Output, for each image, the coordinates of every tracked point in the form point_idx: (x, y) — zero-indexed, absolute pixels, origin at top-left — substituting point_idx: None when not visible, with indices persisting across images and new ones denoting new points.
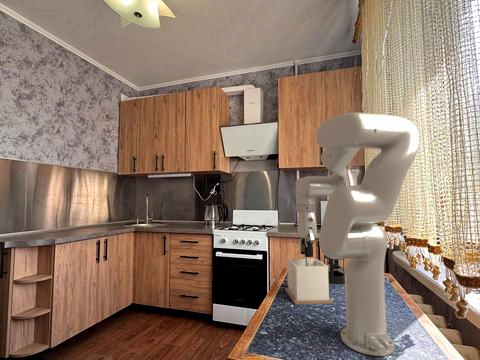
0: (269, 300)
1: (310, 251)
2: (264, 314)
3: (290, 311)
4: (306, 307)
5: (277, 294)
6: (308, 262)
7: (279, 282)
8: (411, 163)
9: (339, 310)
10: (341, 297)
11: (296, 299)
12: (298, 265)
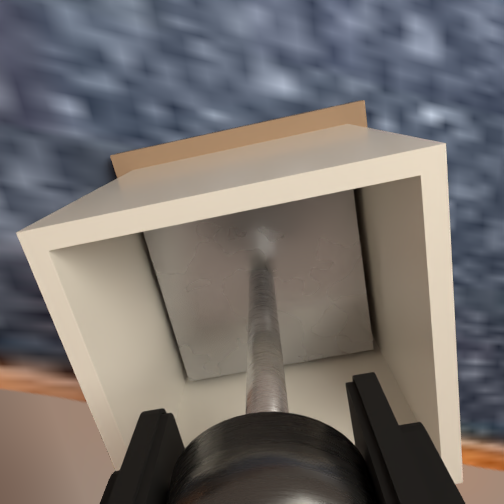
0: None
1: (447, 484)
2: (495, 448)
3: (469, 348)
4: None
5: None
6: (271, 358)
7: (37, 386)
8: None
9: (466, 82)
10: (243, 5)
11: None
12: (142, 395)
